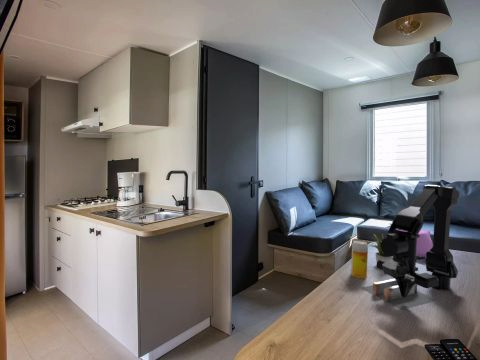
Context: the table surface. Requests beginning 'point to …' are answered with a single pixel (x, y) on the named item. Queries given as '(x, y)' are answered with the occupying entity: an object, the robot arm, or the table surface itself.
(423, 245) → the teapot
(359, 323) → the table surface
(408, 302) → the charcoal mat
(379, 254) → the house plant
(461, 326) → the table surface
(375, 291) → the arm
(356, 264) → the beer can
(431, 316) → the table surface
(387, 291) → the tongs hinged arm
